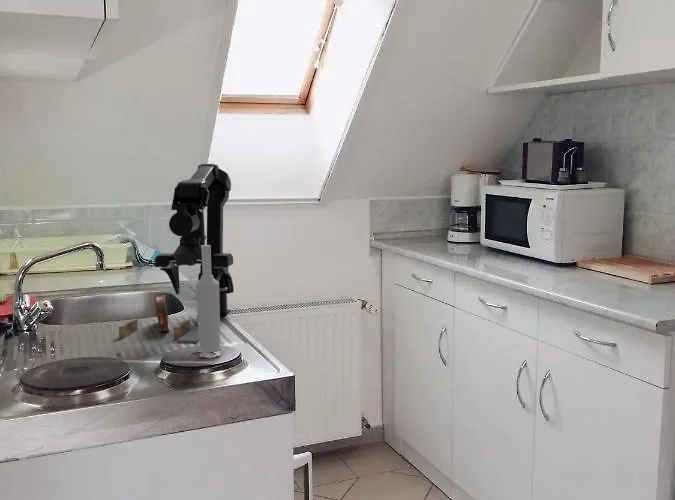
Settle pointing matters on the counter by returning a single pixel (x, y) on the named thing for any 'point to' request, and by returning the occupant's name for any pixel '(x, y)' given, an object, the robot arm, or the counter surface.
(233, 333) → the counter surface
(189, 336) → the grey plank
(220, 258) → the robot arm
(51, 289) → the counter surface
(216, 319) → the bottle
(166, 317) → the tin
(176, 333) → the tan wooden plank
